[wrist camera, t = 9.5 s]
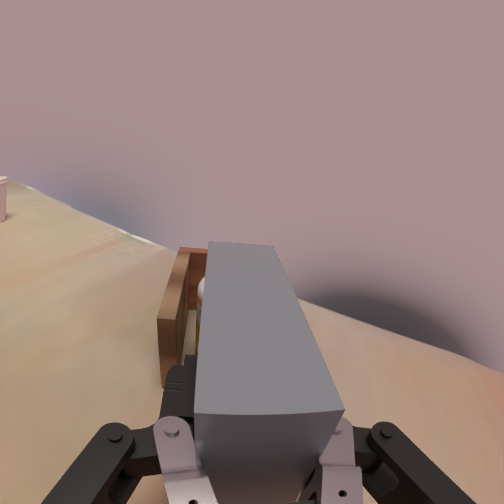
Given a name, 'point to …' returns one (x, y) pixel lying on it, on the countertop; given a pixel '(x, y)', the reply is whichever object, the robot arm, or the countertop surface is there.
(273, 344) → the grey rectangular box
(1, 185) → the smoothie
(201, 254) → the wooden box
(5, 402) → the countertop surface
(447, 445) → the countertop surface
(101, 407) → the countertop surface
